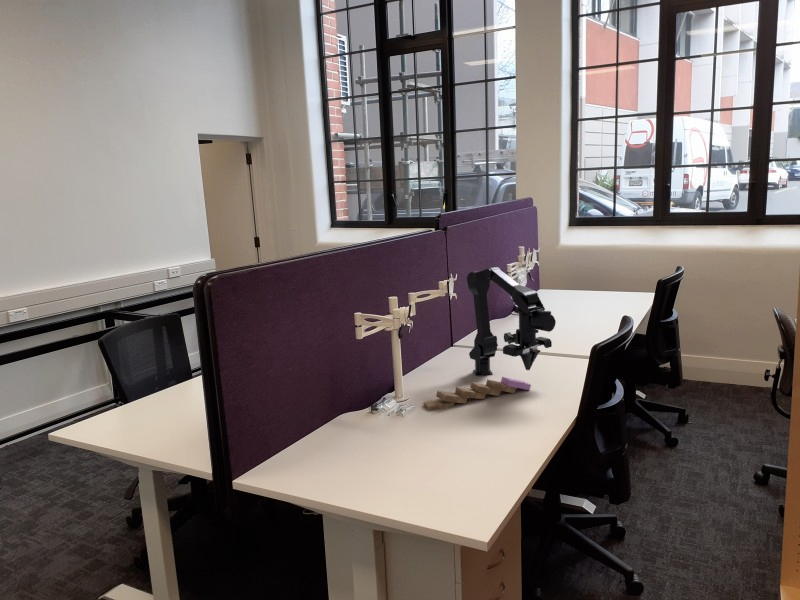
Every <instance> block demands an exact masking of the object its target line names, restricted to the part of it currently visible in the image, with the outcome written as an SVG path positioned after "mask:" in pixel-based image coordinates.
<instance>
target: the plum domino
mask: <svg viewBox="0 0 800 600" xmlns="http://www.w3.org/2000/svg"><path fill="white" fill-rule="evenodd" d="M500 382H502V383H503V384H505V385H507V386H510V387H515V388H516V389H522V390H525V391H530V390H531V387H532V384H531V383H528V382H526V381H525V380H521V379H516V378H511V377H506V376H501V380H500Z"/></svg>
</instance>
